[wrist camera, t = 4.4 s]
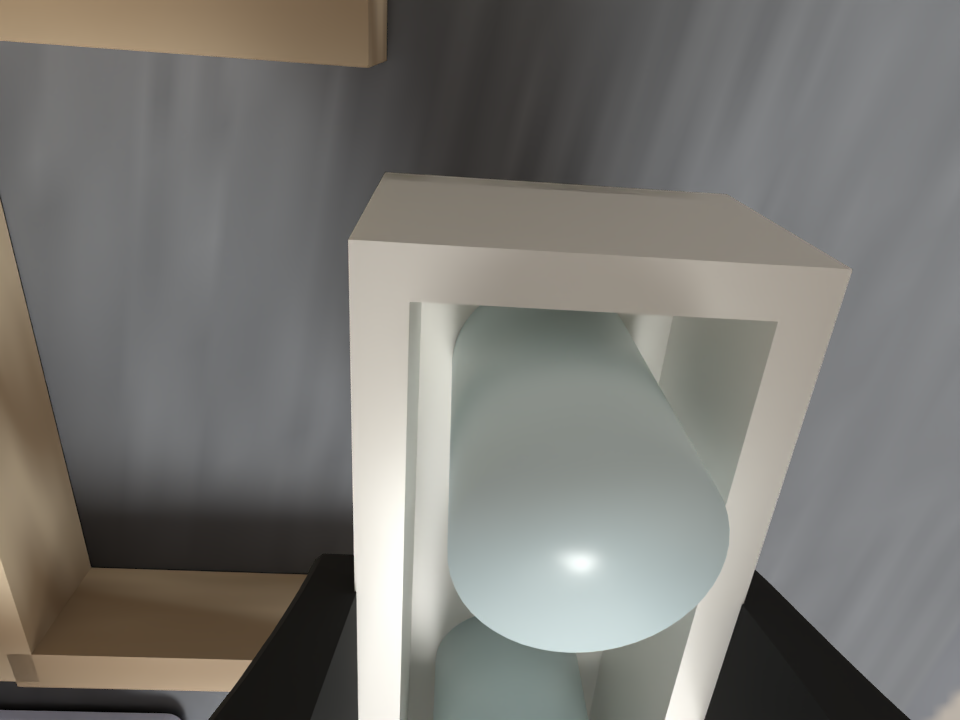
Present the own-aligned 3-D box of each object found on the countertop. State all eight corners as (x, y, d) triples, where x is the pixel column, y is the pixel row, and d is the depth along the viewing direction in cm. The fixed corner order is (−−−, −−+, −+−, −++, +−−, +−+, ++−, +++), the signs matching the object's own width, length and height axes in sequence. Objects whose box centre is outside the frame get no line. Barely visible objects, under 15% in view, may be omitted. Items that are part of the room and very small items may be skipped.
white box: (604, 729, 15) (660, 1000, 11) (381, 725, 15) (350, 1001, 11) (726, 194, 10) (929, 314, 6) (384, 171, 10) (325, 280, 5)
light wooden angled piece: (382, 606, 20) (360, 769, 16) (-49, 593, 20) (-200, 760, 15) (387, -7, 13) (348, -26, 9) (-296, -62, 12) (-726, -115, 8)
